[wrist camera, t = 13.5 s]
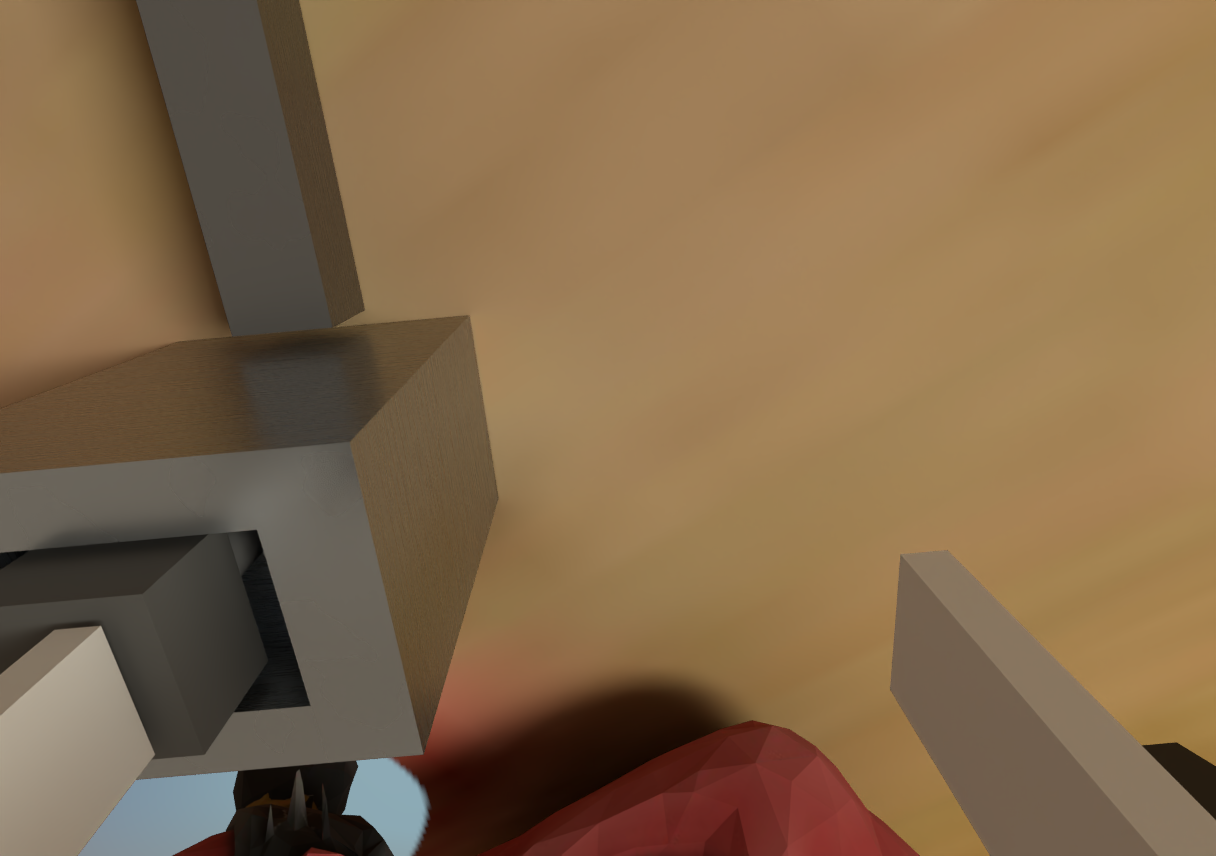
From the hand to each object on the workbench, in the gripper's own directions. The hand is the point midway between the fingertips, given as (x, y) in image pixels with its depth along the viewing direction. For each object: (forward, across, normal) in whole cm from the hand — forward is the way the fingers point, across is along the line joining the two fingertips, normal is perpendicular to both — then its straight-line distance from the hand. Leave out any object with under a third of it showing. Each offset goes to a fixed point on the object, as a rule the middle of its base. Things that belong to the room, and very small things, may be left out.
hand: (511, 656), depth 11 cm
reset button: (+6, +8, 0) cm, 9 cm away
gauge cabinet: (+14, +8, 0) cm, 15 cm away
